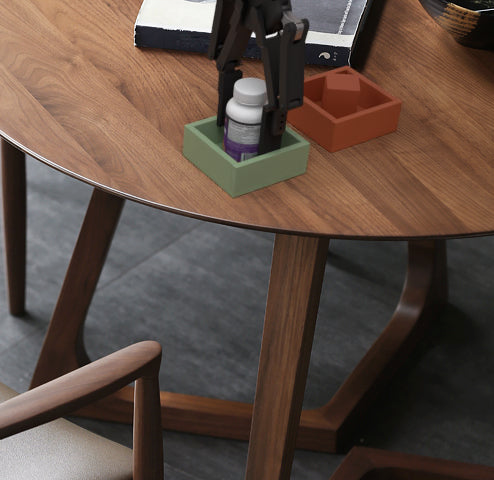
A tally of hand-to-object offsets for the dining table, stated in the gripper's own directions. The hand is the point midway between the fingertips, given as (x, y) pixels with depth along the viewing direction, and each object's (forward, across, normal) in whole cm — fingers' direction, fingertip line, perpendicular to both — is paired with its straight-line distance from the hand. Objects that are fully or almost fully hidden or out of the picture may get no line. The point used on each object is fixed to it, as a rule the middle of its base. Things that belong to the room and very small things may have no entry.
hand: (247, 138), depth 127 cm
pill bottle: (+3, 0, 0) cm, 3 cm away
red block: (+3, +2, -16) cm, 16 cm away
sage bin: (+3, 0, 0) cm, 3 cm away
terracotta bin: (+4, +2, -16) cm, 16 cm away
